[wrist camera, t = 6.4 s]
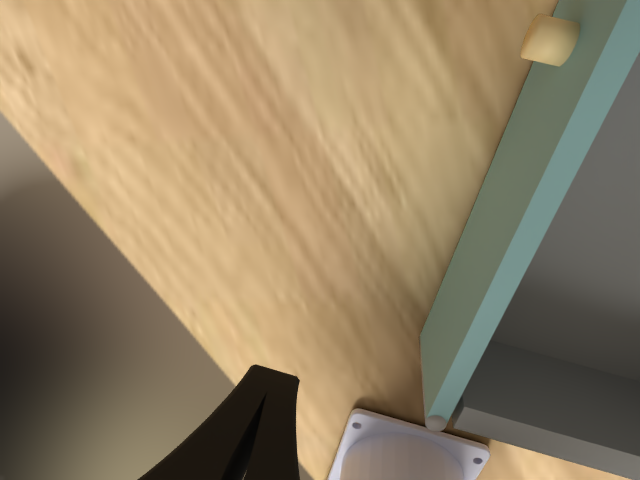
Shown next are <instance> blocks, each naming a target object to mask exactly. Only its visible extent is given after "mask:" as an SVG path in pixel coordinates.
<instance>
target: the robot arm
mask: <svg viewBox="0 0 640 480" xmlns="http://www.w3.org/2000/svg"><path fill="white" fill-rule="evenodd" d="M299 382H300V380H299V379H298V377H297V376H293V375H290V374H286V373H283V372H280V371H276V370H273V369H269V368H266V367H263V366H259V365H256V364H255V365H253V366H251V367H250V368H249V370H248V371H247V373H246V374H245V376H244V377H243V378H242V380H241V381H240V382H239V383H238V385H237V386H236V387H235V388H234V390H233V391H232V392H231V393H230V394H229V395H228V397H227V398H226V399H225V400H224V401H223V402H222V403H221V404H220V405H219V406H218V407H217V409H216V410H215V411H214V412H213V413H212V414H211V415H210V416H209V417H208V418H207V419H206V420H205V421H204V422H203V423H202V424H201V425H200V426H199V427H198V428H197V429H196V430H195V431H194V432H193V433H192V434H191V435H189V436H188V438H186V439H185V440H184V441H183V442H182V443H181V444H180V445H179V446H178V447H177V448H176V449H174V450H173V451H172V452H171V453H170V454H169V455H167V456H166V457H165V458H164V459H163V460H162V461H160V462H159V463H158V464H157V465H156V466H154V467H153V468H152V469H151V470H149V471H148V472H147V473H146V474H144V475H143V476H142V477H140V478H139V479H138V480H242V479H243V477H244V475H245V473H246V475H245V477H244V480H300V477H299V469H298V457H297V440H296V402H297V392H298V386H299ZM355 422H357V423H355ZM489 457H490V451H489V447H488V446H487V445H484V444H482V443H478V442H475V441H471V440H468V439H464V438H461V437H457V436H454V435H450V434H447V433H443V432H440V431H432V430H429V429H428V428H426V427H423V426H419V425H416V424H412V423H409V422H405V421H402V420H398V419H395V418H392V417H388V416H385V415H381V414H378V413H374V412H371V411H367V410H364V409H359V408H358V409H354V410H352V412H351V414H350V417H349V420H348V422H347V425H346V428H345V431H344V434H343V436H342V439H341V442H340V445H339V448H338V450H337V453H336V456H335V459H334V462H333V464H332V467H331V470H330V473H329V476H328V478H327V480H476V478H477V477H478V475H479V473H480V472H481V470H482V469H483V467H484V465H485V464H486V462H487V461H488V459H489ZM246 470H247V471H246Z"/></svg>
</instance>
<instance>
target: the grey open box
mask: <svg viewBox="0 0 640 480" xmlns="http://www.w3.org/2000/svg"><path fill="white" fill-rule="evenodd" d="M452 422H453V428H455V429H459V430H462V431H466V432H469V433H473V434H476V435H480V436H483V437H486V438H490V439H493V440H497V441H500V442H504V443H507V444H511V445H514V446H518V447H521V448H525V449H528V450H532V451H535V452H539V453H542V454H546V455H549V456H552V457H556V458H559V459H563V460H566V461H570V462H573V463H577V464H580V465H584V466H587V467H591V468H594V469H598V470H601V471H605V472H608V473H612V474H615V475H619V476H622V477H625V478H629V479H632V480H640V51H639V53H638V55H637V57H636V59H635V61H634V63H633V65H632V67H631V69H630V71H629V73H628V75H627V77H626V78H625V80H624V82H623V84H622V86H621V88H620V90H619V92H618V94H617V96H616V98H615V100H614V102H613V104H612V106H611V107H610V109H609V111H608V113H607V115H606V117H605V119H604V121H603V123H602V125H601V127H600V129H599V131H598V133H597V135H596V136H595V138H594V140H593V142H592V144H591V146H590V148H589V150H588V152H587V154H586V156H585V158H584V160H583V162H582V164H581V165H580V167H579V169H578V171H577V173H576V175H575V177H574V179H573V181H572V183H571V185H570V187H569V189H568V191H567V192H566V194H565V196H564V198H563V200H562V202H561V204H560V206H559V208H558V210H557V212H556V214H555V216H554V218H553V220H552V221H551V223H550V225H549V227H548V229H547V231H546V233H545V235H544V237H543V239H542V241H541V243H540V245H539V247H538V249H537V250H536V252H535V254H534V256H533V258H532V260H531V262H530V264H529V266H528V268H527V270H526V272H525V274H524V276H523V278H522V279H521V281H520V283H519V285H518V287H517V289H516V291H515V293H514V295H513V297H512V299H511V301H510V303H509V305H508V306H507V308H506V310H505V312H504V314H503V316H502V318H501V320H500V322H499V324H498V326H497V328H496V330H495V332H494V334H493V335H492V337H491V339H490V341H489V343H488V345H487V347H486V349H485V351H484V353H483V355H482V357H481V359H480V361H479V363H478V364H477V366H476V368H475V370H474V372H473V374H472V376H471V378H470V380H469V382H468V384H467V386H466V388H465V390H464V392H463V393H462V395H461V397H460V399H459V401H458V403H457V405H456V407H455V409H454V411H453V413H452Z"/></svg>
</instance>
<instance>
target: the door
mask: <svg viewBox="0 0 640 480" xmlns="http://www.w3.org/2000/svg"><path fill="white" fill-rule="evenodd" d="M639 51H640V0H559V1H558V4H557V6H556V9H555V11H554V13H553V16H552V17H551V16H547V15H542V14H539V15H537V16H536V17H535V19H534V20H533V22H532V23H531V25H530V27H529V29H528V31H527V33H526V36H525V38H524V41H523V44H522V48H521V58H524V59H529V60H533V61H534V62H533V64H532V66H531V69H530V71H529V74H528V76H527V79H526V81H525V83H524V86H523V88H522V91H521V93H520V95H519V98H518V100H517V103H516V105H515V108H514V110H513V112H512V115H511V117H510V120H509V122H508V124H507V127H506V129H505V132H504V134H503V136H502V139H501V141H500V144H499V146H498V149H497V151H496V153H495V156H494V158H493V161H492V163H491V165H490V168H489V170H488V173H487V175H486V177H485V180H484V182H483V185H482V187H481V190H480V192H479V194H478V197H477V199H476V202H475V204H474V206H473V209H472V211H471V214H470V216H469V219H468V221H467V223H466V226H465V228H464V231H463V233H462V235H461V238H460V240H459V243H458V245H457V247H456V250H455V252H454V255H453V257H452V260H451V262H450V264H449V267H448V269H447V272H446V274H445V276H444V279H443V281H442V284H441V286H440V289H439V291H438V293H437V296H436V298H435V301H434V303H433V305H432V308H431V310H430V313H429V315H428V317H427V320H426V322H425V325H424V327H423V330H422V332H421V334H420V336H419V345H420V359H421V373H422V387H423V401H424V414H425V425H426V427H427V428H428V429H429V430H432V431H441V430H443V429H445V427H446V424H447V422H448V420H449V419H450V417H451V415H452V413H453V411H454V409H455V407H456V405H457V403H458V401H459V399H460V397H461V395H462V393H463V392H464V390H465V388H466V386H467V384H468V382H469V380H470V378H471V376H472V374H473V372H474V370H475V368H476V366H477V364H478V363H479V361H480V359H481V357H482V355H483V353H484V351H485V349H486V347H487V345H488V343H489V341H490V339H491V337H492V335H493V334H494V332H495V330H496V328H497V326H498V324H499V322H500V320H501V318H502V316H503V314H504V312H505V310H506V308H507V306H508V305H509V303H510V301H511V299H512V297H513V295H514V293H515V291H516V289H517V287H518V285H519V283H520V281H521V279H522V278H523V276H524V274H525V272H526V270H527V268H528V266H529V264H530V262H531V260H532V258H533V256H534V254H535V252H536V250H537V249H538V247H539V245H540V243H541V241H542V239H543V237H544V235H545V233H546V231H547V229H548V227H549V225H550V223H551V221H552V220H553V218H554V216H555V214H556V212H557V210H558V208H559V206H560V204H561V202H562V200H563V198H564V196H565V194H566V192H567V191H568V189H569V187H570V185H571V183H572V181H573V179H574V177H575V175H576V173H577V171H578V169H579V167H580V165H581V164H582V162H583V160H584V158H585V156H586V154H587V152H588V150H589V148H590V146H591V144H592V142H593V140H594V138H595V136H596V135H597V133H598V131H599V129H600V127H601V125H602V123H603V121H604V119H605V117H606V115H607V113H608V111H609V109H610V107H611V106H612V104H613V102H614V100H615V98H616V96H617V94H618V92H619V90H620V88H621V86H622V84H623V82H624V80H625V78H626V77H627V75H628V73H629V71H630V69H631V67H632V65H633V63H634V61H635V59H636V57H637V55H638V53H639Z"/></svg>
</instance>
